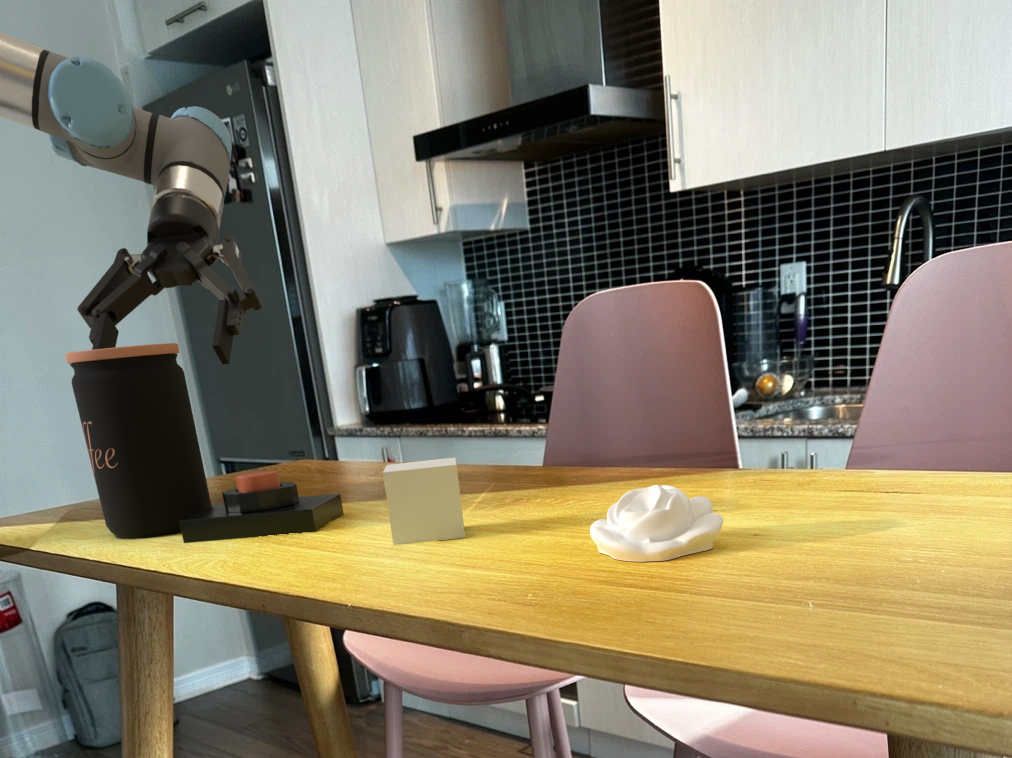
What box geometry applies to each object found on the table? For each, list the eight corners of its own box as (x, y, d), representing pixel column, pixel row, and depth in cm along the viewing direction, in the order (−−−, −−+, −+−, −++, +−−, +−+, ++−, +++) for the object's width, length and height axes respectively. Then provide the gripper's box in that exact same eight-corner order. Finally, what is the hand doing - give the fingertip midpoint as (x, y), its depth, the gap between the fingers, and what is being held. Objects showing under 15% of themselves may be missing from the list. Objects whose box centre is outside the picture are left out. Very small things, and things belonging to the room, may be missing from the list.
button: (232, 496, 99) (229, 478, 98) (247, 490, 102) (244, 472, 102) (272, 493, 98) (269, 474, 97) (286, 487, 102) (282, 469, 101)
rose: (742, 472, 74) (696, 495, 66) (744, 533, 76) (699, 563, 68) (615, 476, 79) (558, 498, 71) (619, 534, 80) (564, 562, 72)
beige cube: (464, 526, 91) (456, 457, 89) (465, 538, 86) (456, 464, 84) (396, 533, 91) (386, 464, 89) (393, 545, 85) (382, 472, 83)
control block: (183, 543, 98) (174, 501, 96) (222, 525, 107) (215, 486, 105) (315, 532, 96) (308, 489, 95) (344, 514, 105) (337, 475, 104)
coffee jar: (112, 530, 111) (70, 354, 105) (214, 516, 114) (179, 344, 107) (104, 545, 101) (57, 352, 95) (215, 530, 104) (176, 341, 98)
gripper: (301, 235, 120) (284, 374, 112) (100, 259, 123) (68, 397, 114) (278, 178, 114) (258, 322, 105) (66, 205, 116) (30, 347, 108)
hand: (159, 361), depth 110 cm, fingers open, 13 cm apart
